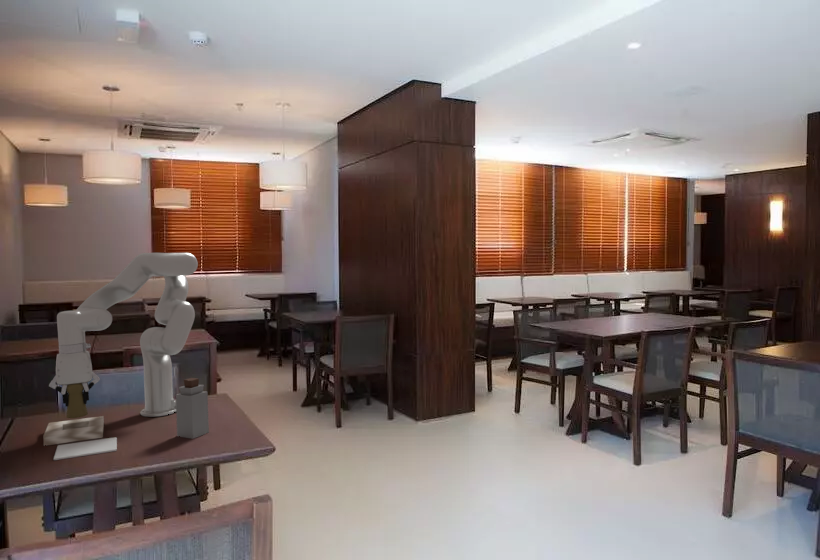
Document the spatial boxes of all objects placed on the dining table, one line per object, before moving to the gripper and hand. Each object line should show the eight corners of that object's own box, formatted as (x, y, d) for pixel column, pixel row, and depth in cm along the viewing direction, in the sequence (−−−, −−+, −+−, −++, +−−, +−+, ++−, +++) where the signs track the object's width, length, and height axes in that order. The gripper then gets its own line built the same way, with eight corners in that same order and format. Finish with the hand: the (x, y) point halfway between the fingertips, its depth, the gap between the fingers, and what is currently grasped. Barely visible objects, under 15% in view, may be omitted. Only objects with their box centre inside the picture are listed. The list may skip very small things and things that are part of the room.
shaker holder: (103, 424, 197) (103, 416, 197) (102, 437, 183) (102, 428, 183) (49, 431, 190) (48, 422, 190) (43, 445, 176) (43, 436, 176)
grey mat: (116, 438, 182) (116, 437, 182) (116, 450, 170) (116, 449, 170) (57, 446, 175) (57, 445, 175) (53, 460, 163) (53, 458, 163)
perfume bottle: (208, 432, 187) (207, 377, 186) (192, 438, 181) (191, 382, 180) (193, 430, 190) (191, 376, 189) (177, 436, 184) (175, 380, 183)
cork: (91, 412, 190) (89, 379, 189) (79, 418, 184) (77, 384, 183) (74, 412, 190) (72, 380, 190) (62, 418, 184) (59, 384, 184)
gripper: (102, 344, 193) (105, 397, 194) (43, 350, 185) (47, 405, 186) (101, 347, 186) (105, 403, 187) (40, 353, 178) (44, 411, 180)
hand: (76, 403), depth 187 cm, fingers closed on cork, 4 cm apart
